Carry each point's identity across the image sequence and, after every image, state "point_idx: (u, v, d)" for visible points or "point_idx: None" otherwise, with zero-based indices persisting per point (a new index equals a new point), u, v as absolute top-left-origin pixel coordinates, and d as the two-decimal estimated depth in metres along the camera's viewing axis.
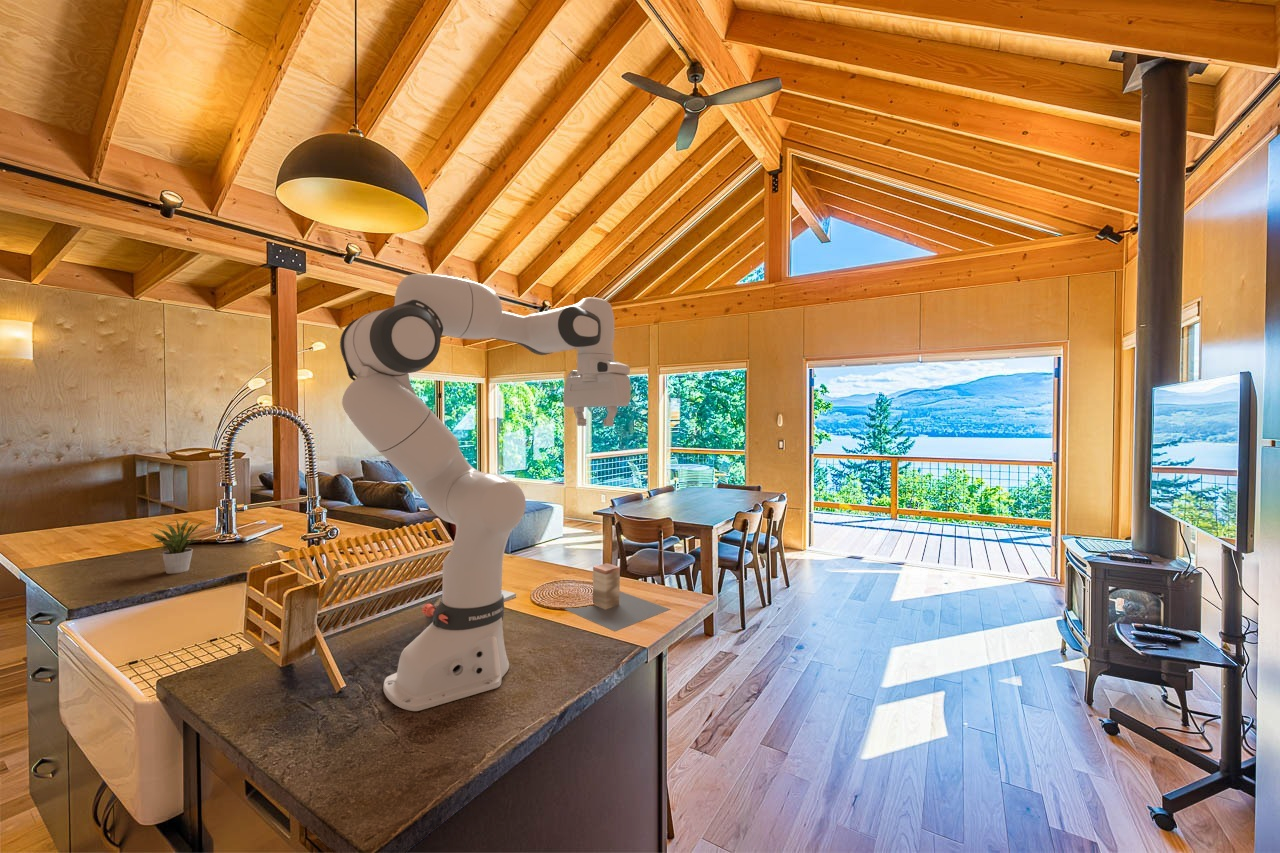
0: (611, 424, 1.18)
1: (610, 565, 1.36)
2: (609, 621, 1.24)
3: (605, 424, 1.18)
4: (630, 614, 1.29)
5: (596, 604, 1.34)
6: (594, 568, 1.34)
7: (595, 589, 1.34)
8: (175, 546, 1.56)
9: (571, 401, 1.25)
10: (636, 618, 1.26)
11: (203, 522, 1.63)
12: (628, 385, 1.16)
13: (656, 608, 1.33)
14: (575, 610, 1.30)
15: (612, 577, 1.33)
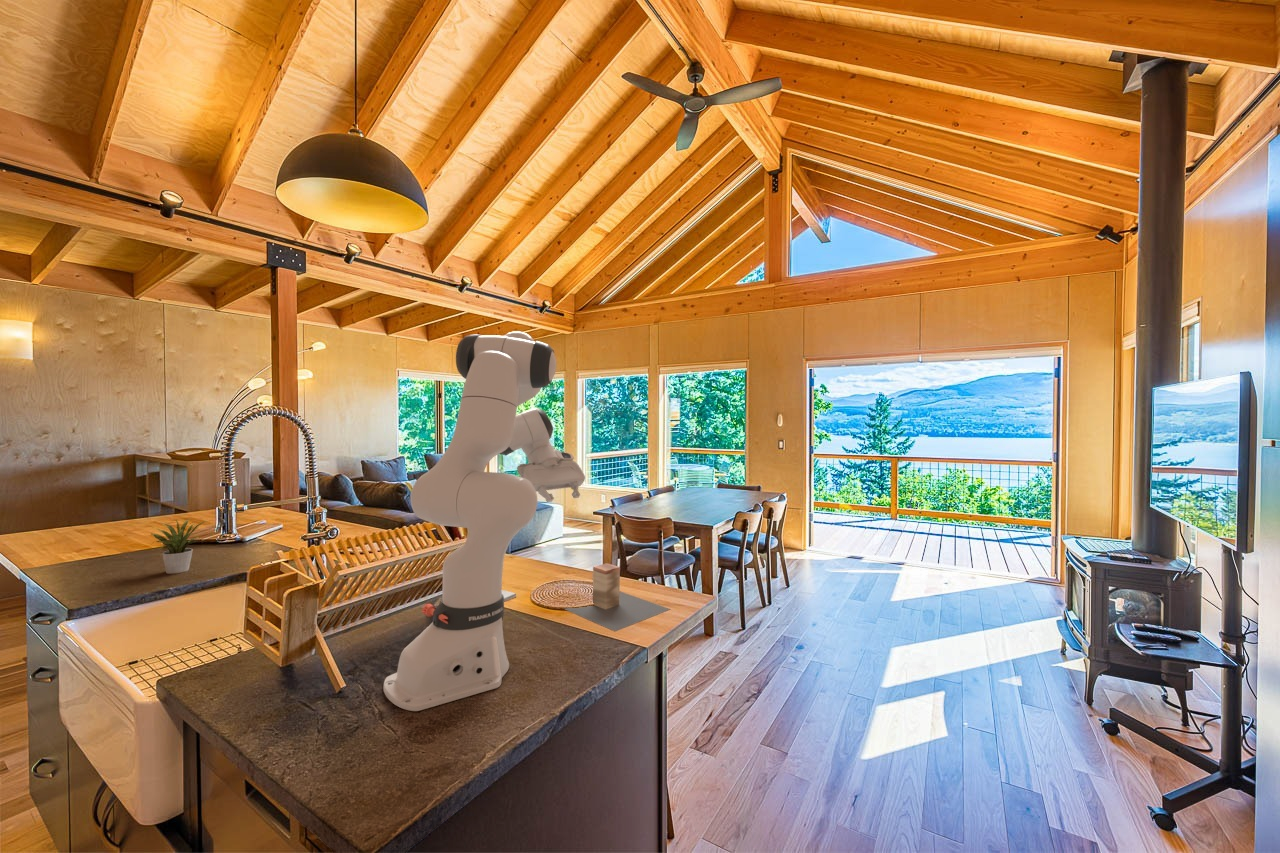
0: None
1: (610, 565, 1.36)
2: (609, 621, 1.24)
3: (577, 494, 1.51)
4: (630, 614, 1.29)
5: (596, 604, 1.34)
6: (594, 568, 1.34)
7: (595, 589, 1.34)
8: (175, 546, 1.56)
9: (539, 480, 1.45)
10: (636, 618, 1.26)
11: (203, 522, 1.63)
12: None
13: (656, 608, 1.33)
14: (575, 610, 1.30)
15: (612, 577, 1.33)
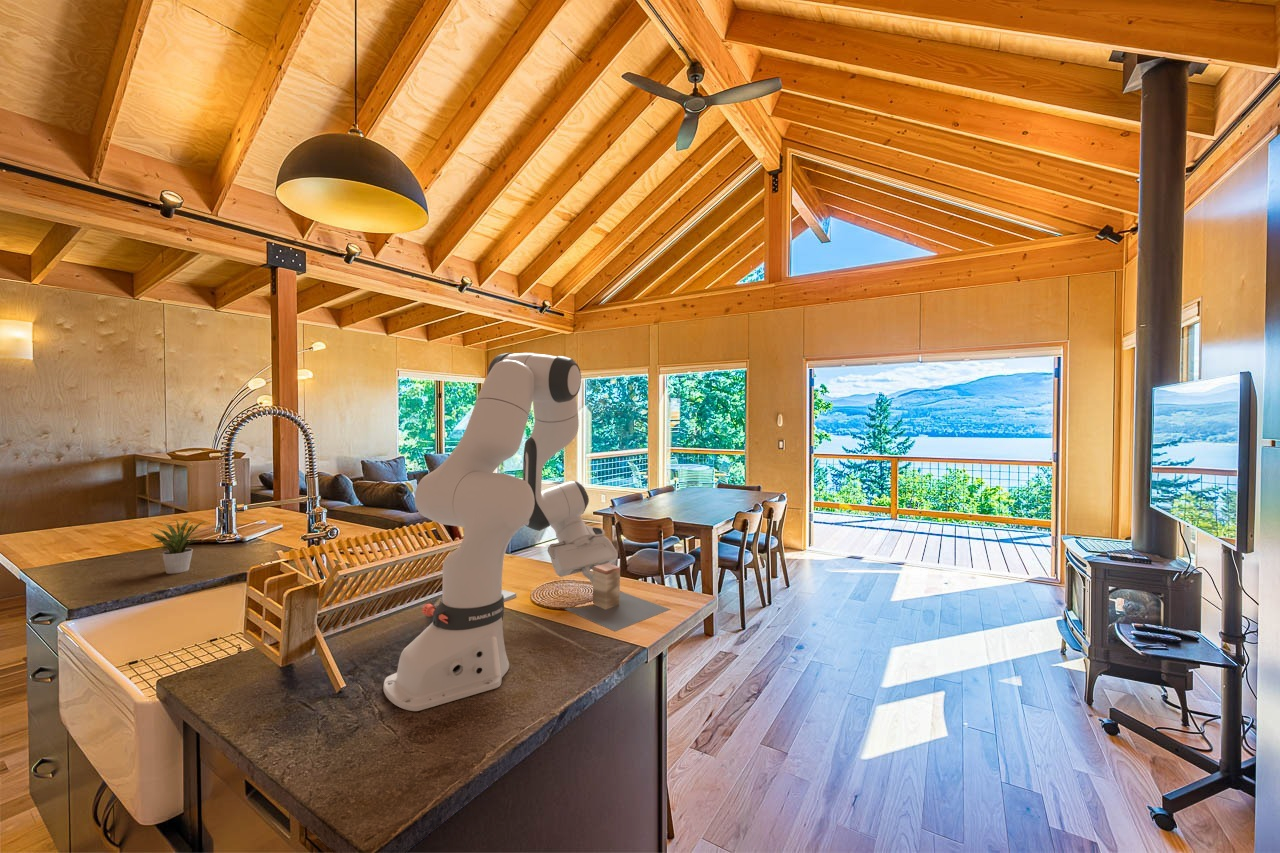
0: None
1: (611, 565, 1.36)
2: (609, 621, 1.24)
3: None
4: (630, 614, 1.29)
5: (596, 604, 1.34)
6: (594, 568, 1.34)
7: (595, 588, 1.34)
8: (175, 546, 1.56)
9: (572, 564, 1.34)
10: (636, 618, 1.26)
11: (203, 522, 1.63)
12: None
13: (656, 608, 1.33)
14: (575, 610, 1.30)
15: (612, 577, 1.33)
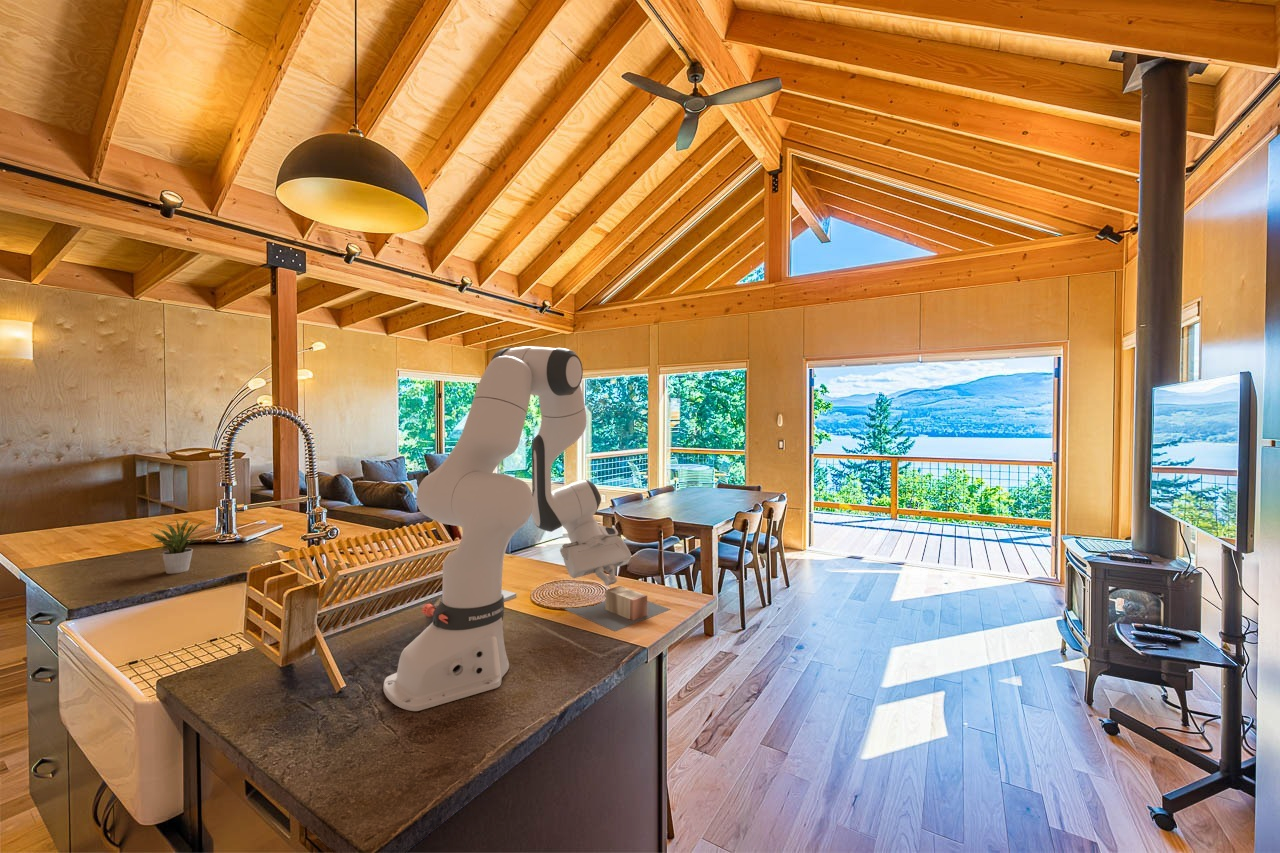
0: None
1: (645, 604, 1.28)
2: (609, 621, 1.24)
3: (614, 579, 1.34)
4: None
5: (606, 596, 1.31)
6: (632, 602, 1.25)
7: (617, 598, 1.28)
8: (175, 546, 1.56)
9: (586, 564, 1.31)
10: None
11: (203, 522, 1.63)
12: None
13: (656, 608, 1.33)
14: (575, 610, 1.30)
15: None
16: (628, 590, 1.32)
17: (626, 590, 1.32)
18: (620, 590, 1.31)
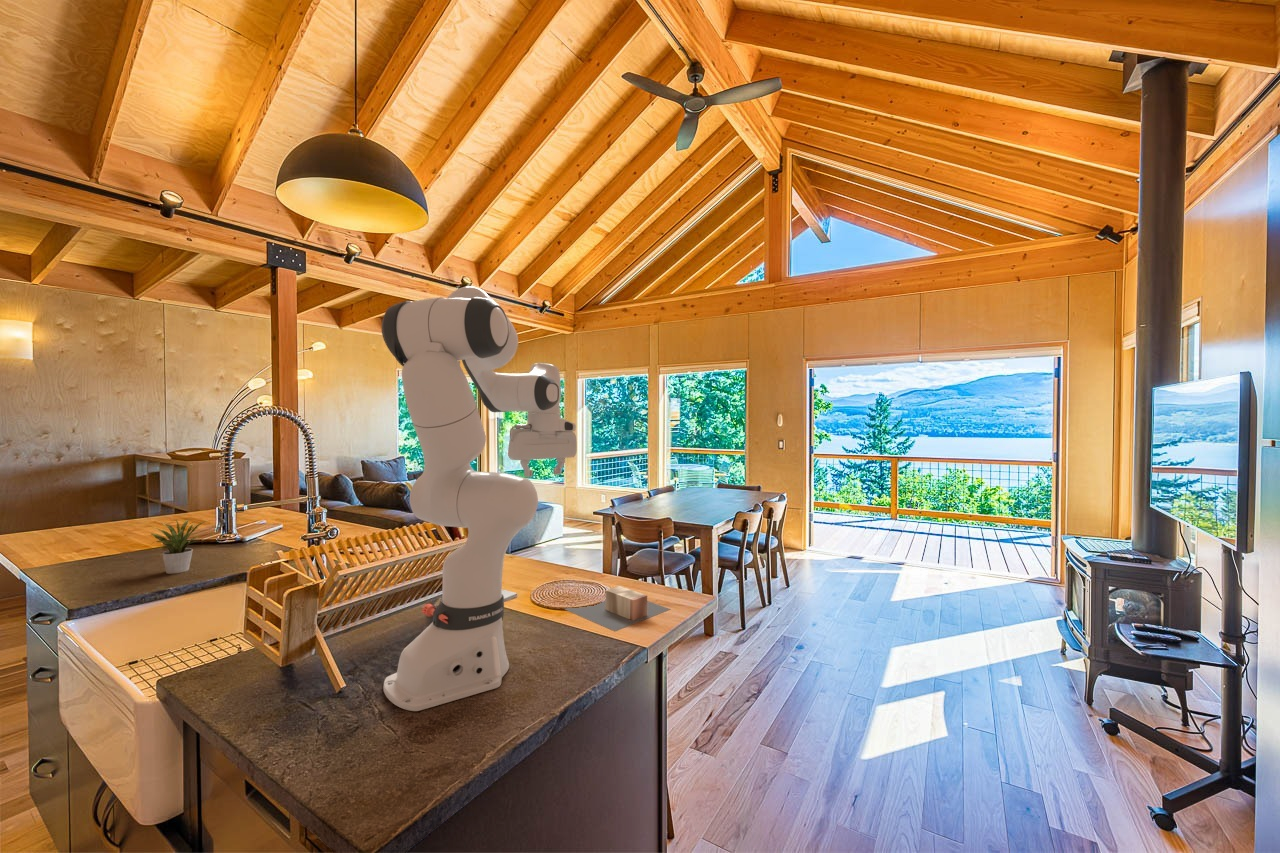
0: None
1: (645, 604, 1.28)
2: (609, 621, 1.24)
3: (558, 473, 1.40)
4: None
5: (606, 596, 1.31)
6: (632, 602, 1.25)
7: (617, 598, 1.28)
8: (175, 546, 1.56)
9: (526, 455, 1.32)
10: None
11: (203, 522, 1.63)
12: None
13: (656, 608, 1.33)
14: (575, 610, 1.30)
15: None
16: (628, 590, 1.32)
17: (626, 590, 1.32)
18: (620, 590, 1.31)
